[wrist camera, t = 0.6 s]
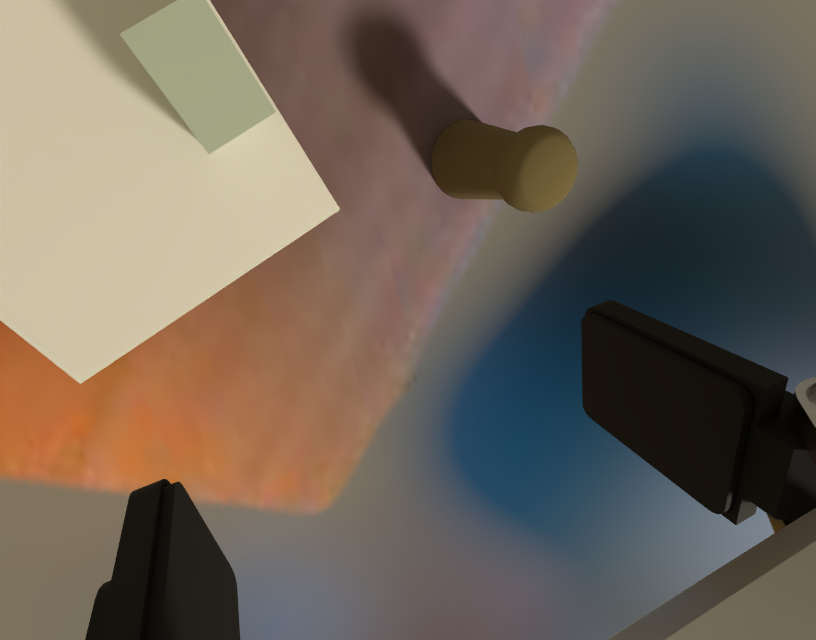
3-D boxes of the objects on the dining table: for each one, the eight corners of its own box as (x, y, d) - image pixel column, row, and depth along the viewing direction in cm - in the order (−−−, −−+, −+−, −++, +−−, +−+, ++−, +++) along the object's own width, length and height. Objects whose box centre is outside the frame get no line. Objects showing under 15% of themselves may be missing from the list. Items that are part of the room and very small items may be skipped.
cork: (441, 209, 37) (519, 238, 28) (422, 133, 34) (502, 137, 25) (503, 184, 39) (597, 203, 29) (490, 109, 36) (590, 103, 26)
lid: (110, -155, 19) (75, -252, 14) (337, 207, 28) (363, 225, 24) (-303, 65, 17) (-506, 41, 12) (83, 377, 27) (54, 435, 22)
